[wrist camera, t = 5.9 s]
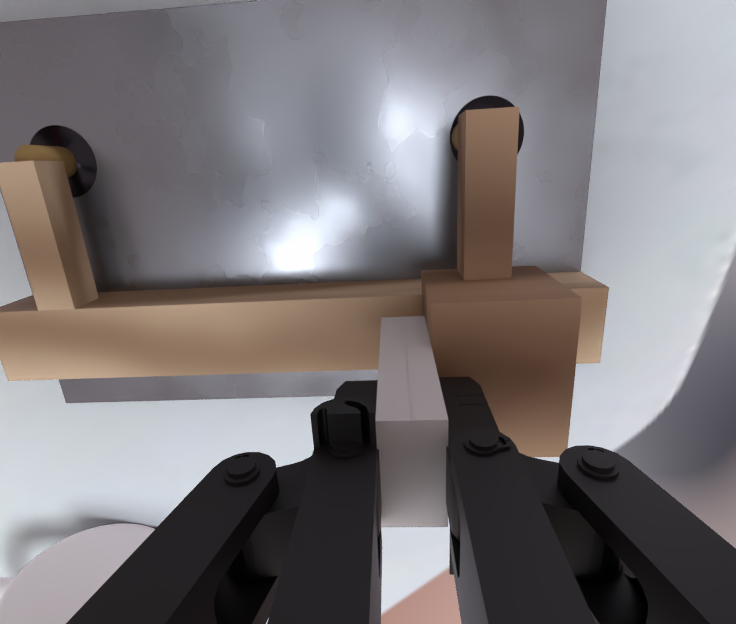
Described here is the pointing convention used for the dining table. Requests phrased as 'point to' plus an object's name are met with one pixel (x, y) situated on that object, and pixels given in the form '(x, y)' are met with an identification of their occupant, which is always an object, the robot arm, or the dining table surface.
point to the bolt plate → (298, 145)
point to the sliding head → (502, 298)
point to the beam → (190, 305)
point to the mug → (67, 574)
